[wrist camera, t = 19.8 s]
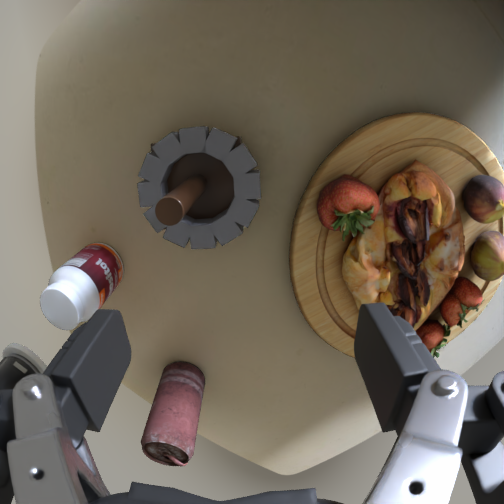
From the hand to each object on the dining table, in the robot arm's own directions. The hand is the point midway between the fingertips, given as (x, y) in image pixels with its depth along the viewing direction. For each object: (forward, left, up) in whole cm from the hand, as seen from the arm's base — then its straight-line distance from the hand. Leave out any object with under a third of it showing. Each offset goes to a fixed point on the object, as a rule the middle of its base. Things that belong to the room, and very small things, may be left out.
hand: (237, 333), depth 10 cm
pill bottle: (-18, -8, -24) cm, 31 cm away
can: (-10, -25, -24) cm, 36 cm away
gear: (-5, +1, -23) cm, 23 cm away
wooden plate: (+20, -7, -24) cm, 32 cm away
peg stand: (-5, +1, -24) cm, 25 cm away
